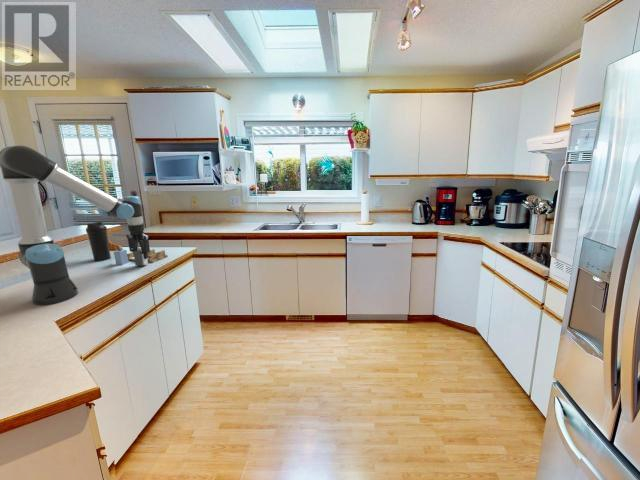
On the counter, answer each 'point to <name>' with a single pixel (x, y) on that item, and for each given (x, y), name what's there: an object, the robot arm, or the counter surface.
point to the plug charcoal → (138, 257)
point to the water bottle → (98, 241)
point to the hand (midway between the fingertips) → (141, 263)
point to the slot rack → (150, 256)
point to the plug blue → (121, 256)
